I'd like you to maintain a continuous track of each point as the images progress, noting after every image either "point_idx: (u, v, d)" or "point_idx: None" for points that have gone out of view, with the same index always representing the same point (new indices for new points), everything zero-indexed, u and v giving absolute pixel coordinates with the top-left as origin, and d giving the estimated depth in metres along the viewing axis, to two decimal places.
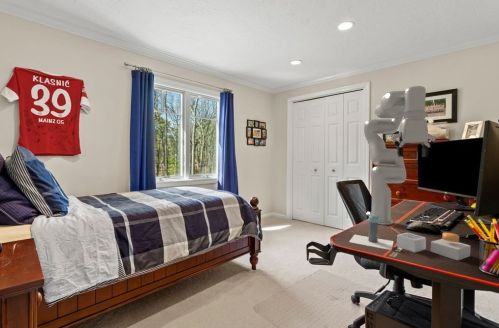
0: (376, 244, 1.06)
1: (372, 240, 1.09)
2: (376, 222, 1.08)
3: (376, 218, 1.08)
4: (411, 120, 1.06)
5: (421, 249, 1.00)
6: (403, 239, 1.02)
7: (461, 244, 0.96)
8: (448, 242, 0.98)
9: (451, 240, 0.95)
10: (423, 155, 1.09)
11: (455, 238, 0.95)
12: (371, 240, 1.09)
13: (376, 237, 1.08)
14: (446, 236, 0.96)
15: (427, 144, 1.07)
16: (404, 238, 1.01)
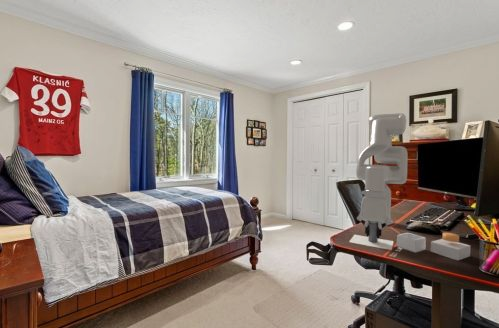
0: (376, 244, 1.06)
1: (372, 240, 1.09)
2: (376, 222, 1.08)
3: None
4: None
5: (421, 249, 1.00)
6: (403, 239, 1.02)
7: (461, 244, 0.96)
8: (448, 242, 0.98)
9: (451, 240, 0.95)
10: (368, 234, 1.11)
11: (455, 238, 0.95)
12: (371, 240, 1.09)
13: (376, 237, 1.08)
14: (446, 236, 0.96)
15: None
16: (404, 238, 1.01)
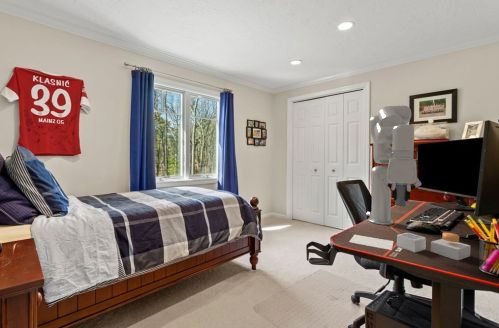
0: (376, 244, 1.06)
1: (400, 204, 1.02)
2: (404, 184, 1.02)
3: None
4: None
5: (421, 249, 1.00)
6: (403, 239, 1.02)
7: (461, 244, 0.96)
8: (448, 242, 0.98)
9: (451, 240, 0.95)
10: None
11: (455, 238, 0.95)
12: (399, 204, 1.03)
13: (404, 200, 1.02)
14: (446, 236, 0.96)
15: None
16: (404, 238, 1.01)
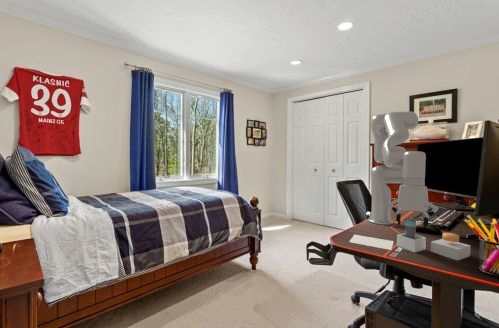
0: (376, 244, 1.06)
1: None
2: (414, 226, 1.01)
3: (414, 222, 1.01)
4: None
5: (421, 249, 1.00)
6: (403, 239, 1.02)
7: (461, 244, 0.96)
8: (448, 242, 0.98)
9: (451, 240, 0.95)
10: None
11: (455, 238, 0.95)
12: None
13: None
14: (446, 236, 0.96)
15: None
16: (404, 238, 1.01)
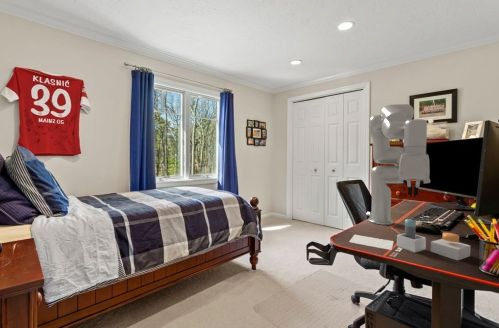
0: (376, 244, 1.06)
1: None
2: (414, 226, 1.01)
3: (414, 222, 1.01)
4: None
5: (421, 249, 1.00)
6: (403, 239, 1.02)
7: (461, 244, 0.96)
8: (448, 242, 0.98)
9: (451, 240, 0.95)
10: None
11: (455, 238, 0.95)
12: None
13: None
14: (446, 236, 0.96)
15: None
16: (404, 238, 1.01)
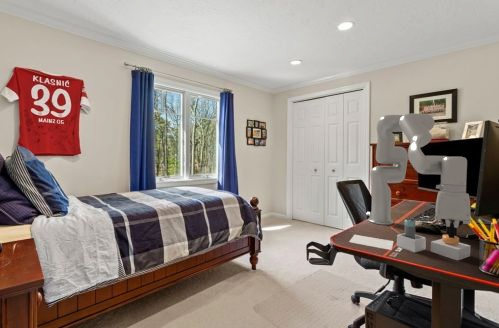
0: (376, 244, 1.06)
1: None
2: (413, 226, 1.01)
3: (413, 222, 1.01)
4: None
5: (421, 249, 1.00)
6: (403, 239, 1.02)
7: (461, 244, 0.96)
8: None
9: (451, 242, 0.95)
10: (451, 235, 0.97)
11: (455, 240, 0.95)
12: None
13: None
14: (446, 238, 0.96)
15: None
16: (404, 238, 1.01)
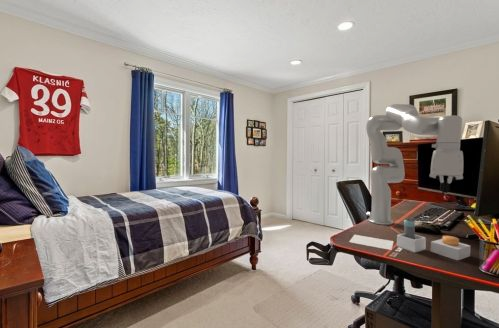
0: (376, 244, 1.06)
1: None
2: (412, 226, 1.01)
3: (412, 222, 1.01)
4: None
5: (421, 249, 1.00)
6: (403, 239, 1.02)
7: (461, 244, 0.96)
8: None
9: (451, 243, 0.95)
10: None
11: (455, 241, 0.95)
12: None
13: None
14: (446, 239, 0.96)
15: None
16: (404, 238, 1.01)
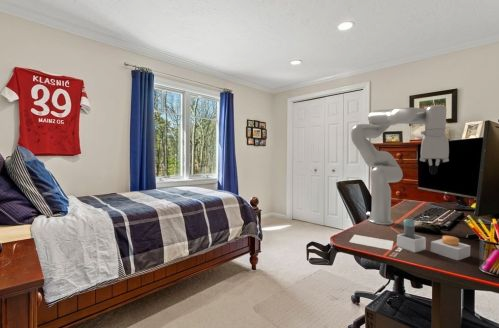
0: (376, 244, 1.06)
1: None
2: (412, 226, 1.01)
3: (412, 222, 1.01)
4: None
5: (421, 249, 1.00)
6: (403, 239, 1.02)
7: (461, 244, 0.96)
8: None
9: (451, 243, 0.95)
10: (433, 173, 1.15)
11: (455, 241, 0.95)
12: None
13: None
14: (446, 239, 0.96)
15: None
16: (404, 238, 1.01)
